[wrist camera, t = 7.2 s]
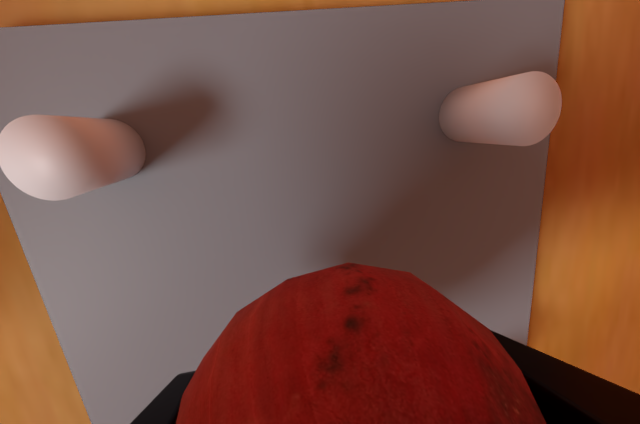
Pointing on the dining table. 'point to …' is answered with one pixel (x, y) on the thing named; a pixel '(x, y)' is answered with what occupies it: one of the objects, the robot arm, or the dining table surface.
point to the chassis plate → (270, 168)
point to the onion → (356, 358)
